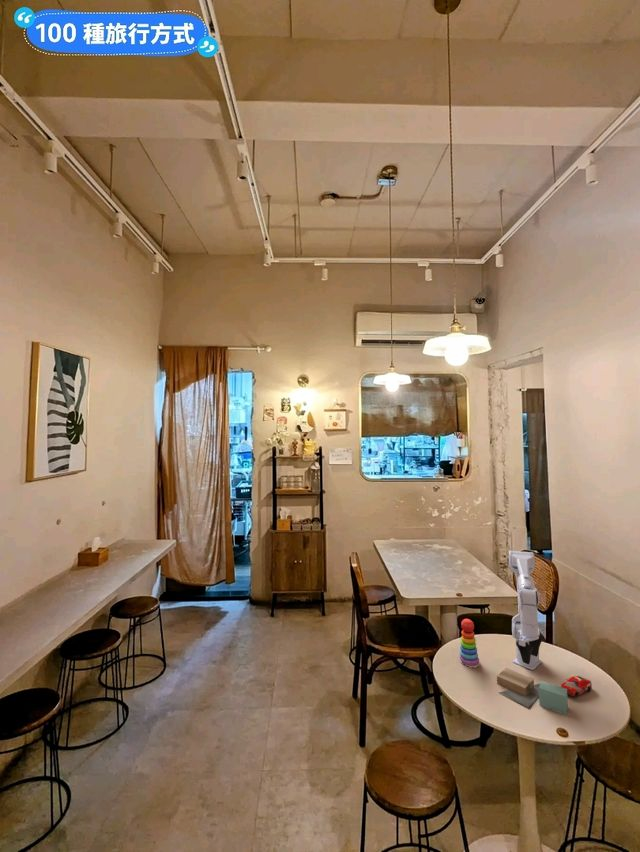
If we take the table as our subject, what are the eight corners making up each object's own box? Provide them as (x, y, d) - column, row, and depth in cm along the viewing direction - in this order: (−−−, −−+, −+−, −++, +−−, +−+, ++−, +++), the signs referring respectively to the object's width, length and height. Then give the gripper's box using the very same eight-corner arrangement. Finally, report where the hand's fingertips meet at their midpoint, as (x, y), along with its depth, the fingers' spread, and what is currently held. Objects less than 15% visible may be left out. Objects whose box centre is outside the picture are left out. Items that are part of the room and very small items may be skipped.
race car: (572, 699, 139) (572, 687, 139) (557, 690, 144) (557, 679, 144) (595, 690, 145) (595, 679, 145) (579, 682, 149) (579, 671, 150)
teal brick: (541, 698, 141) (540, 680, 141) (567, 707, 136) (567, 689, 136) (539, 705, 137) (538, 687, 137) (566, 715, 132) (565, 696, 132)
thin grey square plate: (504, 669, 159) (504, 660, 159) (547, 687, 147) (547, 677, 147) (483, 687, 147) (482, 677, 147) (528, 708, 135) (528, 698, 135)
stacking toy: (462, 658, 167) (461, 613, 168) (482, 664, 162) (480, 618, 163) (456, 667, 160) (455, 620, 161) (477, 673, 156) (475, 625, 157)
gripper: (525, 613, 156) (526, 648, 155) (509, 624, 146) (510, 661, 145) (545, 618, 150) (546, 655, 150) (530, 630, 141) (531, 670, 140)
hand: (530, 659), depth 147 cm, fingers open, 7 cm apart
